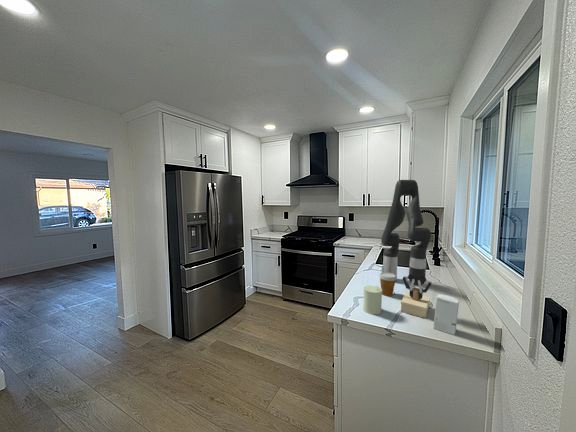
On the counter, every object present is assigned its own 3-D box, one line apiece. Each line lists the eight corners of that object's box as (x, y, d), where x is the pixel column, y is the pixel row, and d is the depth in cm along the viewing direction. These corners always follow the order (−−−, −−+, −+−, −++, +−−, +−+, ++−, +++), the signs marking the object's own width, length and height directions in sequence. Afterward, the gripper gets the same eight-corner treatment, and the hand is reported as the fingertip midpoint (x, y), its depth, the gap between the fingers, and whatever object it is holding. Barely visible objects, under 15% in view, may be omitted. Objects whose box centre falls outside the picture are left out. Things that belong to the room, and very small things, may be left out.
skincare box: (433, 328, 107) (435, 297, 106) (435, 323, 112) (437, 292, 111) (455, 335, 102) (458, 302, 101) (457, 329, 107) (459, 297, 105)
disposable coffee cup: (394, 291, 147) (395, 273, 146) (396, 298, 138) (397, 278, 137) (378, 289, 150) (379, 271, 149) (378, 296, 141) (379, 276, 140)
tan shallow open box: (400, 311, 123) (401, 303, 122) (406, 301, 134) (406, 293, 133) (425, 318, 116) (425, 309, 116) (428, 307, 127) (429, 299, 127)
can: (379, 316, 118) (380, 293, 117) (360, 311, 123) (361, 289, 122) (383, 308, 126) (384, 286, 125) (365, 304, 131) (366, 283, 130)
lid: (400, 303, 122) (401, 291, 122) (406, 293, 134) (407, 282, 133) (426, 309, 115) (426, 296, 115) (429, 299, 127) (430, 287, 126)
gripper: (401, 265, 124) (399, 297, 126) (432, 270, 115) (430, 304, 117) (404, 261, 130) (402, 292, 132) (434, 266, 121) (432, 299, 123)
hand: (415, 297), depth 124 cm, fingers closed on lid, 3 cm apart
